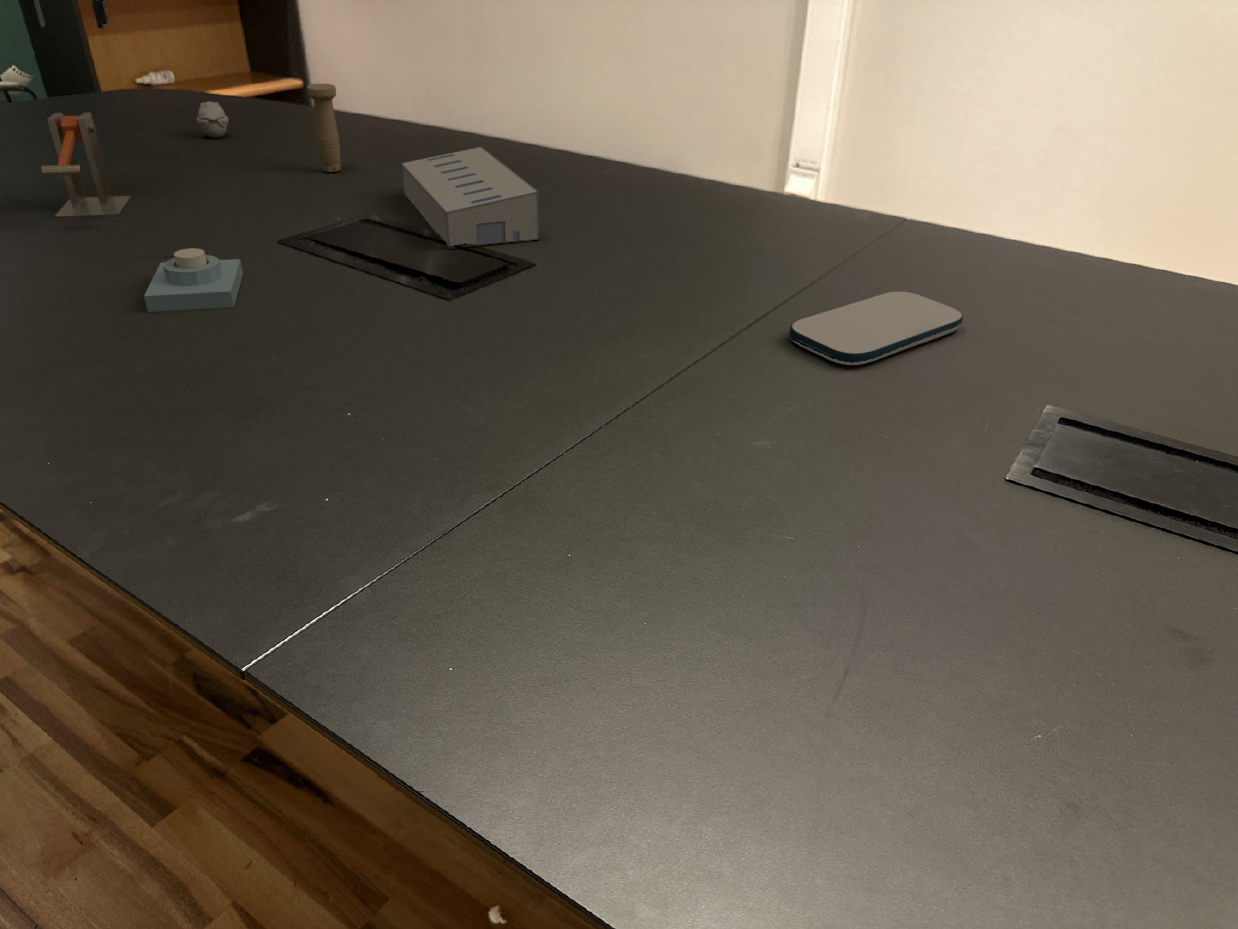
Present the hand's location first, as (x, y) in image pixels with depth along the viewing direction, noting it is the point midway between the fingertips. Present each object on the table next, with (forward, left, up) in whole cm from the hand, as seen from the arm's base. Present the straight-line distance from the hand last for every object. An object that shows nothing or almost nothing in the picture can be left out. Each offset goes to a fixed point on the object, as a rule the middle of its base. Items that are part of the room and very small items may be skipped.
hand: (72, 27), depth 137 cm
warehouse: (+56, -18, -26) cm, 65 cm away
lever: (-1, -12, -16) cm, 20 cm away
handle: (+35, +14, -26) cm, 46 cm away
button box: (+19, -46, -26) cm, 56 cm away
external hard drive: (+102, -74, -26) cm, 128 cm away
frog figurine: (+11, +45, -26) cm, 53 cm away
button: (+19, -46, -22) cm, 54 cm away
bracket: (-1, -8, -26) cm, 27 cm away
